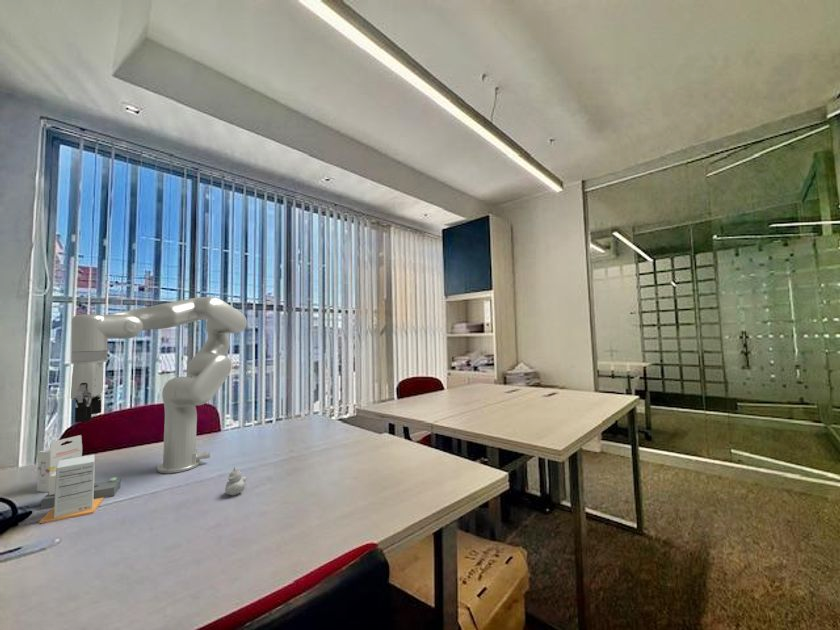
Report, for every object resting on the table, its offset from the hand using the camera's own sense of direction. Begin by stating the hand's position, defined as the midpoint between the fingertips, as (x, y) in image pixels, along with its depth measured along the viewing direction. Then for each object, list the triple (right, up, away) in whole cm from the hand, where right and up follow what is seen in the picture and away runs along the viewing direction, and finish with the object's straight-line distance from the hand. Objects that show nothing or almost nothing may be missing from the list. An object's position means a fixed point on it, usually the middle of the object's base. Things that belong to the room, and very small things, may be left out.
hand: (88, 417), depth 98 cm
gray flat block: (-3, -23, +1) cm, 24 cm away
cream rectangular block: (-7, -21, -1) cm, 22 cm away
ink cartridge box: (-17, -24, +9) cm, 31 cm away
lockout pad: (+2, -23, -7) cm, 24 cm away
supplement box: (+2, -23, -7) cm, 24 cm away
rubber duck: (+40, -24, +3) cm, 47 cm away
